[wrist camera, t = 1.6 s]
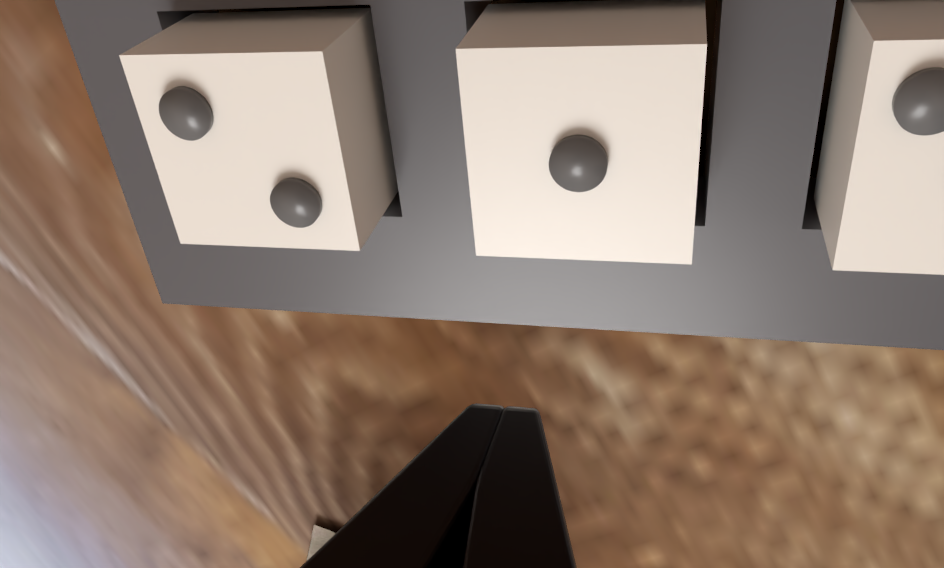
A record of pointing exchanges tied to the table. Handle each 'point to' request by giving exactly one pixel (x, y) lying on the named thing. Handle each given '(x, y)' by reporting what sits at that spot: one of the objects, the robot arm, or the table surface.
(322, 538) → the condiment
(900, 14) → the tile three dots
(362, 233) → the tile two dots
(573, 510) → the table surface
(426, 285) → the button panel
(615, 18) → the tile one dot
